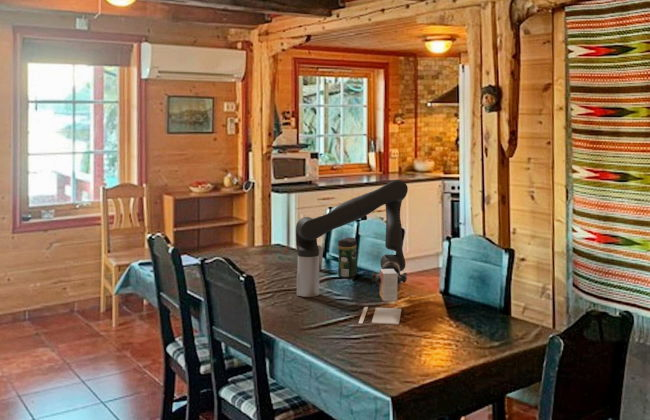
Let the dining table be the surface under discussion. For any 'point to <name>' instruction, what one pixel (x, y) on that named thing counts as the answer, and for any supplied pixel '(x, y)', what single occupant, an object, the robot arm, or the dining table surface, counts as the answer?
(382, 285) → the small box
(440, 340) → the dining table surface
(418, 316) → the dining table surface
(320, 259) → the cup
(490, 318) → the dining table surface
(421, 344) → the dining table surface
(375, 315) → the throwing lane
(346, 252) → the coffee jar
